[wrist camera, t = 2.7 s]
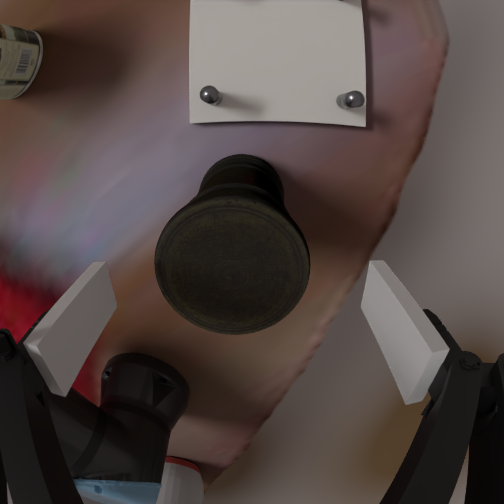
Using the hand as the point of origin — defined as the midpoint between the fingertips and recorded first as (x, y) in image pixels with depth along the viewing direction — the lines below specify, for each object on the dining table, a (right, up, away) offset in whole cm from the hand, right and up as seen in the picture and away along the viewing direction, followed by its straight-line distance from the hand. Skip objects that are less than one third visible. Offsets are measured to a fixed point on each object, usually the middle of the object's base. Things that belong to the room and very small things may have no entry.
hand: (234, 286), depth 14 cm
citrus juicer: (-19, -53, +45) cm, 72 cm away
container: (0, +8, +18) cm, 20 cm away
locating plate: (+4, +23, +11) cm, 26 cm away
